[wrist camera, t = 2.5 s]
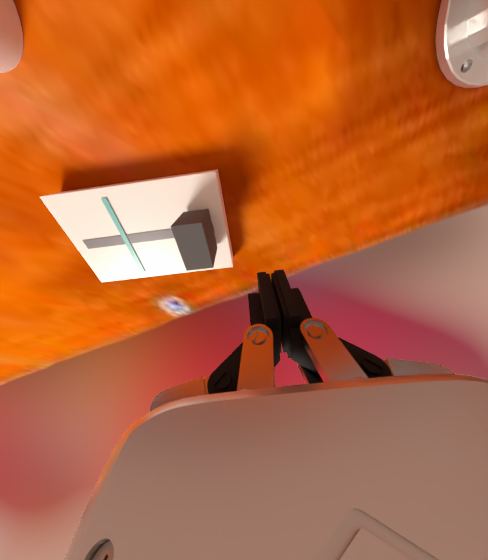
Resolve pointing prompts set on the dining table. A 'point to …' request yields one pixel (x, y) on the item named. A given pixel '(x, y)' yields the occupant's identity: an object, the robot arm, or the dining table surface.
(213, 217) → the fader console
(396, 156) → the dining table surface
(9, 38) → the white cylinder
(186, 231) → the fader knob
